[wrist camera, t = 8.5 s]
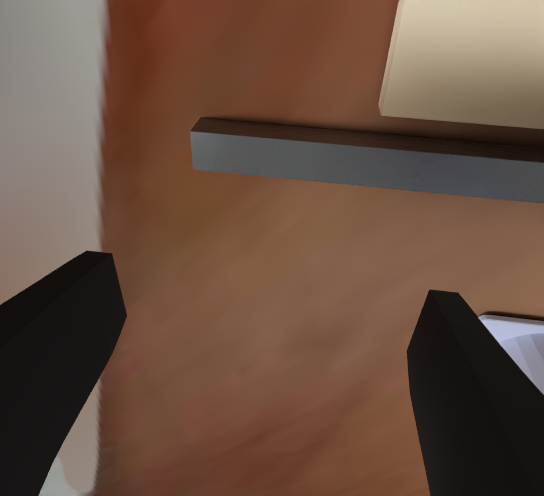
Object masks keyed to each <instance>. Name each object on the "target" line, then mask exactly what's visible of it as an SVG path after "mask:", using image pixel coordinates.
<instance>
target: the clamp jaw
mask: <svg viewBox="0 0 544 496" xmlns="http://www.w3.org/2000/svg"><path fill="white" fill-rule="evenodd" d="M378 105H379V109H380V113H381V116H392V117H404V118H416V119H428V120H440V121H452V122H463V123H475V124H487V125H499V126H511V127H523V128H535V129H544V0H399V3H398V8H397V13H396V18H395V23H394V28H393V33H392V38H391V43H390V49H389V54H388V59H387V64H386V69H385V74H384V79H383V84H382V89H381V94H380V99H379V104H378Z"/></svg>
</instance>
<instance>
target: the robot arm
mask: <svg viewBox="0 0 544 496" xmlns="http://www.w3.org/2000/svg"><path fill="white" fill-rule="evenodd" d="M126 317H127V314H126V310H125V306H124V301H123V297H122V293H121V289H120V285H119V281H118V276H117V272H116V268H115V264H114V260H113V256H112V253H103V252H94V251H85V252H84V253H82V254H81V255H78V256H77V257H75V258H73V259H72V260H70V261H69V262H67V263H65V264H64V265H62V266H61V267H59V268H58V269H56V270H54V271H53V272H51V273H50V274H48V275H47V276H45V277H44V278H42V279H41V280H39V281H37V282H36V283H34V284H33V285H31V286H29V287H28V288H26V289H25V290H23V291H22V292H20V293H18V294H17V295H15V296H14V297H12V298H11V299H9V300H8V301H6V302H4V303H3V304H1V305H0V496H38V495H39V493H40V491H41V488H42V486H43V484H44V481H45V479H46V477H47V475H48V472H49V470H50V468H51V466H52V463H53V461H54V459H55V457H56V455H57V453H58V451H59V450H60V448H61V446H62V444H63V442H64V440H65V438H66V436H67V435H68V433H69V431H70V429H71V427H72V426H73V424H74V422H75V420H76V418H77V417H78V415H79V413H80V411H81V409H82V408H83V406H84V404H85V402H86V401H87V399H88V396H89V395H90V393H91V392H92V390H93V388H94V386H95V384H96V383H97V381H98V379H99V377H100V375H101V373H102V372H103V370H104V368H105V366H106V364H107V362H108V361H109V359H110V357H111V355H112V353H113V350H114V348H115V346H116V343H117V341H118V338H119V336H120V333H121V330H122V328H123V325H124V322H125V320H126ZM407 360H408V375H409V387H410V396H411V401H412V406H413V411H414V416H415V421H416V426H417V431H418V436H419V441H420V446H421V451H422V456H423V461H424V466H425V470H426V475H427V480H428V485H429V490H430V495H431V496H544V321H537V320H529V319H520V318H512V317H503V316H495V315H482V316H480V317H477V315H476V314H475V313H474V312H473V310H472V309H471V308H470V307H469V305H468V304H467V303H466V302H465V300H464V299H463V298H462V297H461V296H460V294H459V293H455V292H447V291H438V290H429V292H428V295H427V298H426V300H425V303H424V306H423V308H422V311H421V314H420V316H419V319H418V322H417V325H416V327H415V330H414V333H413V335H412V338H411V341H410V344H409V346H408V349H407Z"/></svg>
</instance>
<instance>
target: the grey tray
mask: <svg viewBox="0 0 544 496" xmlns="http://www.w3.org/2000/svg"><path fill="white" fill-rule="evenodd" d="M190 136H191V149H192V162H193V170H203V171H213V172H224V173H234V174H245V175H255V176H265V177H276V178H286V179H296V180H307V181H317V182H327V183H338V184H348V185H359V186H369V187H379V188H390V189H400V190H410V191H421V192H431V193H441V194H452V195H462V196H473V197H483V198H493V199H504V200H514V201H524V202H535V203H544V148H541V147H529V146H518V145H506V144H495V143H483V142H472V141H460V140H449V139H437V138H426V137H414V136H403V135H391V134H380V133H368V132H357V131H345V130H334V129H322V128H311V127H299V126H288V125H276V124H265V123H253V122H242V121H230V120H219V119H207V118H200V119H199V120H198V122H197V123H196V124H195V126H194V127H193V128H192V129H191V131H190Z"/></svg>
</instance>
